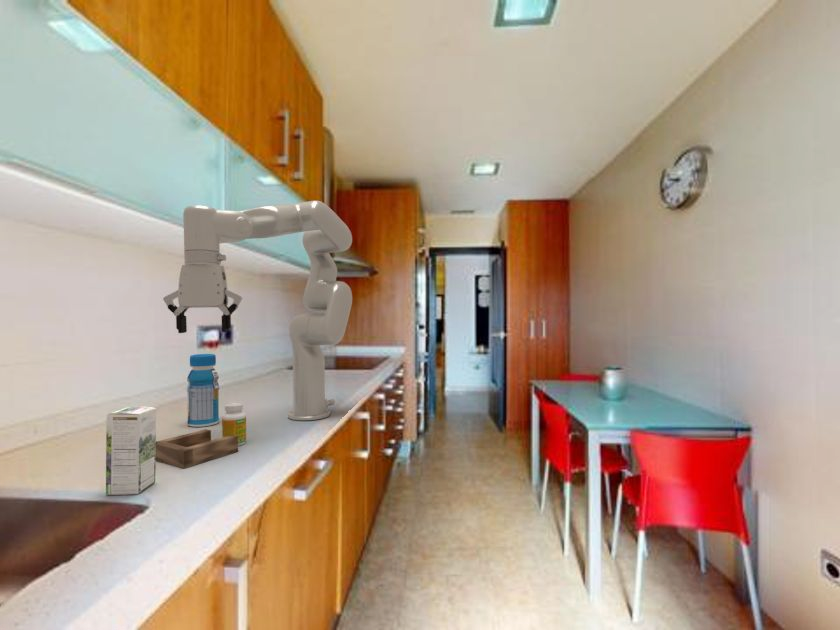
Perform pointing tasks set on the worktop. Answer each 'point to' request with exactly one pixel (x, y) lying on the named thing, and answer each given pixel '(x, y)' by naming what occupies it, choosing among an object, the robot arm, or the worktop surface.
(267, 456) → the worktop surface
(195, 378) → the beverage bottle
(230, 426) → the supplement bottle
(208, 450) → the tray
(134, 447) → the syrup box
